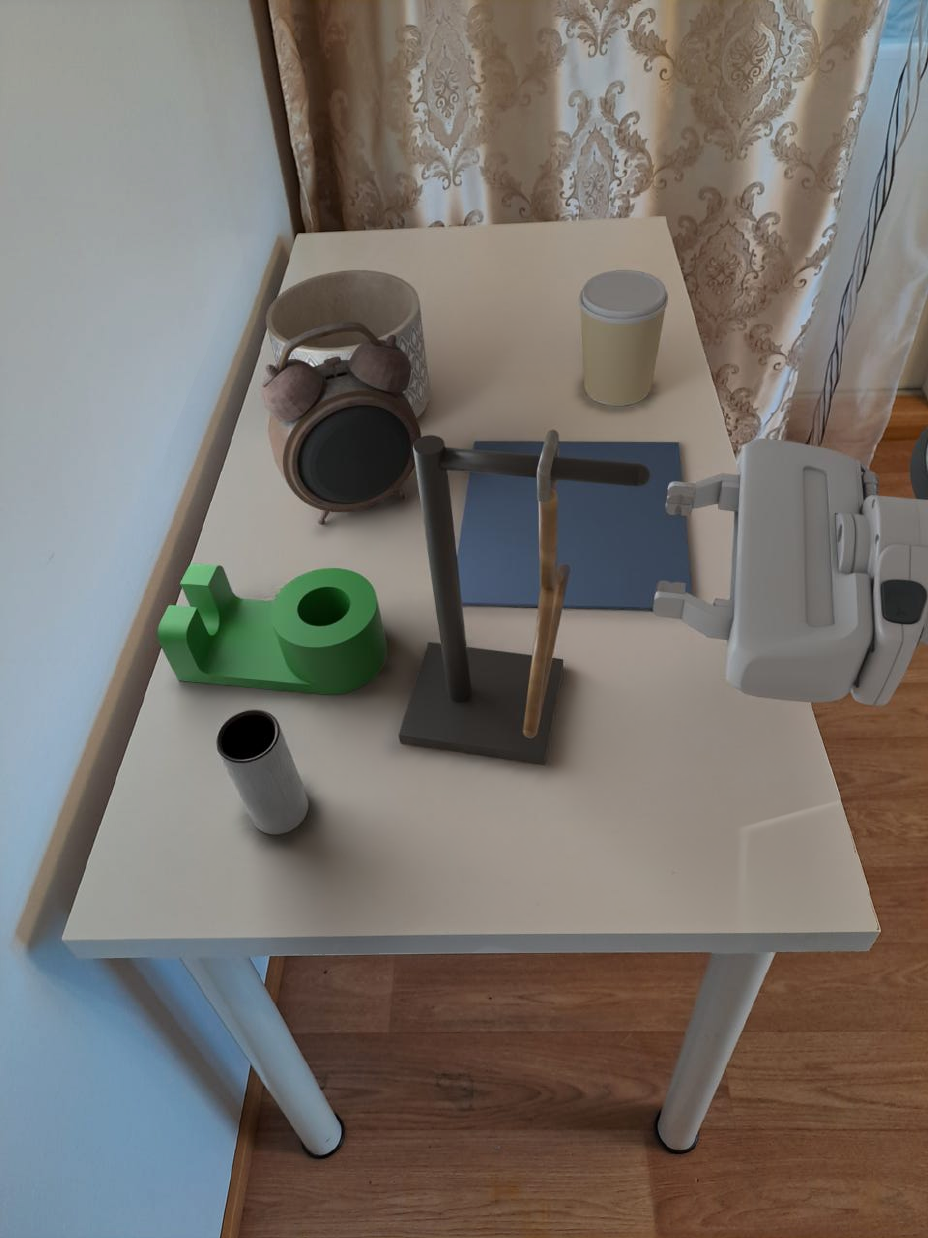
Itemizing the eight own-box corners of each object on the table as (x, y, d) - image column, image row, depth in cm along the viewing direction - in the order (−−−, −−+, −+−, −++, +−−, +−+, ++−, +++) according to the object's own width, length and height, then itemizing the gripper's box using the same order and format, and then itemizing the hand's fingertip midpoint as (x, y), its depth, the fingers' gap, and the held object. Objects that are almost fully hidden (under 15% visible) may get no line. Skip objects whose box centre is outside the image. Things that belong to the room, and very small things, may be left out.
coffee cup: (656, 363, 107) (666, 267, 98) (660, 410, 101) (671, 312, 92) (577, 363, 108) (580, 268, 99) (576, 410, 102) (578, 313, 93)
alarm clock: (302, 545, 91) (253, 373, 76) (285, 502, 95) (235, 332, 80) (437, 502, 93) (416, 328, 79) (414, 463, 98) (390, 291, 83)
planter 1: (262, 845, 69) (226, 773, 61) (243, 799, 72) (207, 725, 64) (317, 818, 70) (289, 744, 62) (297, 775, 73) (267, 699, 65)
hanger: (572, 570, 74) (577, 369, 60) (537, 742, 63) (534, 545, 49) (557, 568, 74) (559, 368, 60) (520, 739, 63) (512, 543, 49)
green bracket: (396, 620, 83) (387, 571, 78) (374, 699, 77) (362, 651, 72) (213, 605, 86) (193, 557, 81) (178, 680, 80) (154, 633, 75)
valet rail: (630, 676, 77) (658, 412, 57) (617, 776, 71) (644, 519, 50) (429, 650, 80) (389, 393, 60) (399, 743, 74) (343, 491, 54)
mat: (678, 444, 97) (678, 441, 97) (692, 611, 81) (693, 608, 81) (474, 443, 100) (474, 440, 99) (450, 605, 84) (450, 602, 84)
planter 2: (283, 383, 110) (258, 285, 100) (414, 356, 112) (401, 258, 102) (301, 465, 99) (274, 364, 90) (445, 433, 101) (434, 331, 92)
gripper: (889, 425, 60) (677, 409, 63) (917, 662, 47) (650, 629, 50) (864, 497, 65) (668, 479, 68) (884, 730, 52) (641, 696, 55)
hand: (660, 545), depth 59 cm, fingers open, 8 cm apart
